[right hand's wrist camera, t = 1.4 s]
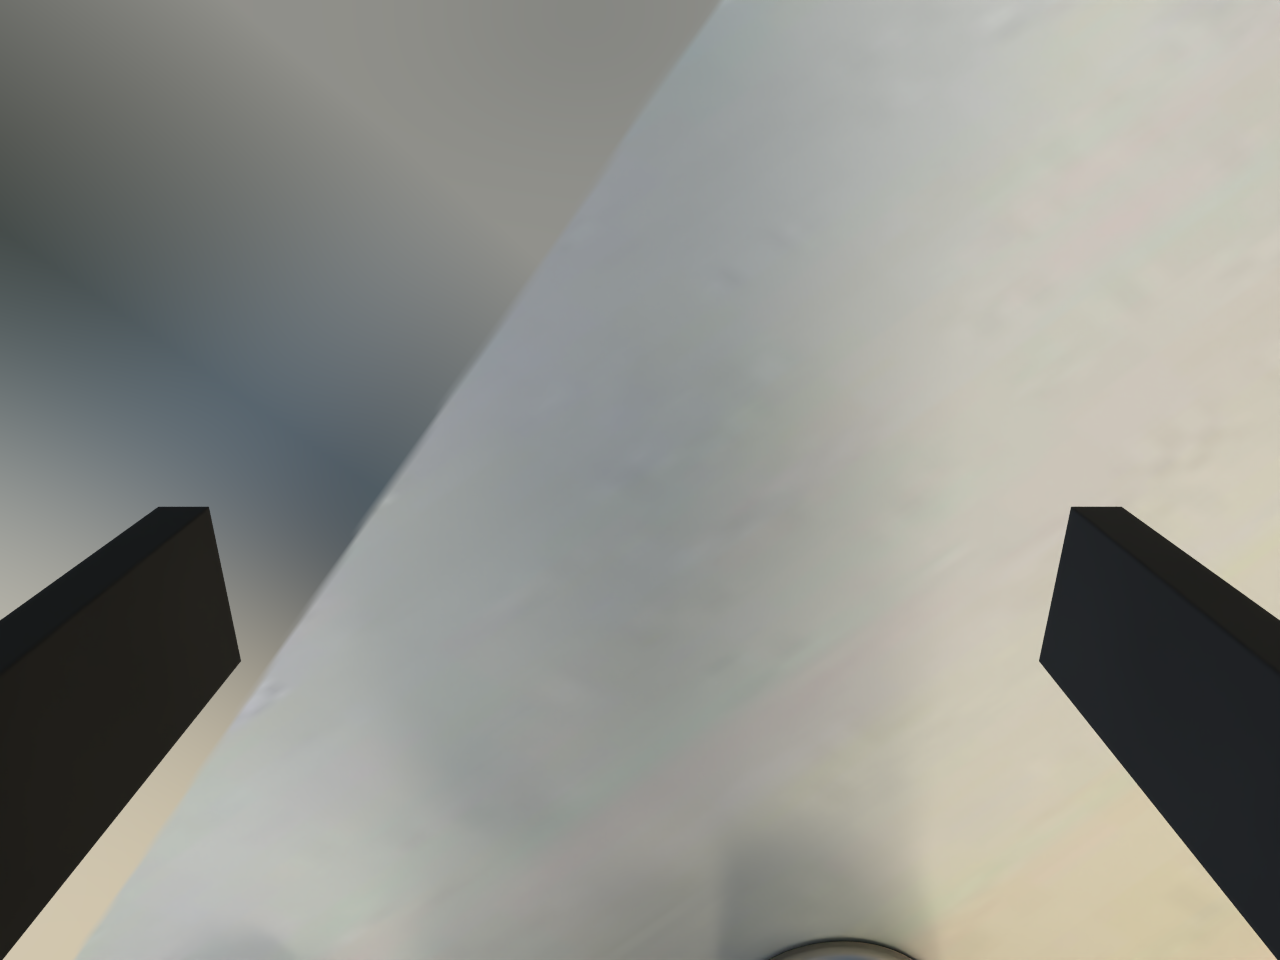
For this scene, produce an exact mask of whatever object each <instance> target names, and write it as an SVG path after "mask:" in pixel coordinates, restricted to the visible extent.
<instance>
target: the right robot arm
mask: <svg viewBox="0 0 1280 960" xmlns="http://www.w3.org/2000/svg"><path fill="white" fill-rule="evenodd" d="M240 662H241V659H240V654H239V650H238V645H237V640H236V635H235V630H234V626H233V621H232V616H231V611H230V606H229V602H228V597H227V592H226V587H225V582H224V578H223V573H222V568H221V563H220V558H219V553H218V549H217V544H216V539H215V534H214V530H213V525H212V520H211V515H210V510H209V507H158V508H156V509H155V510H153V511H152V512H151V513H149V514H148V515H146V516H145V517H144V518H142V519H141V520H140V521H138V522H137V523H135V524H134V525H133V526H131V527H130V528H128V529H127V530H126V531H124V532H123V533H121V534H120V535H119V536H117V537H116V538H114V539H113V540H112V541H110V542H109V543H108V544H106V545H105V546H103V547H102V548H101V549H99V550H98V551H96V552H95V553H94V554H92V555H91V556H89V557H88V558H87V559H85V560H84V561H82V562H81V563H80V564H78V565H77V566H75V567H74V568H73V569H71V570H70V571H68V572H67V573H66V574H64V575H63V576H62V577H60V578H59V579H57V580H56V581H55V582H53V583H52V584H50V585H49V586H48V587H46V588H45V589H43V590H42V591H41V592H39V593H38V594H36V595H35V596H34V597H32V598H31V599H29V600H28V601H27V602H25V603H24V604H22V605H21V606H20V607H18V608H17V609H15V610H14V611H13V612H11V613H10V614H9V615H7V616H6V617H4V618H3V619H2V620H0V960H3V958H4V957H5V956H6V955H7V953H8V952H9V951H10V950H11V948H12V947H13V946H14V945H15V943H16V942H17V941H18V940H19V938H20V937H21V936H22V935H23V933H24V932H25V931H26V930H27V928H28V927H29V926H30V925H31V923H32V922H33V921H34V920H35V918H36V917H37V916H38V915H39V913H40V912H41V911H42V910H43V908H44V907H45V906H46V905H47V903H48V902H49V901H50V900H51V898H52V897H53V896H54V895H55V893H56V892H57V891H58V890H59V888H60V887H61V886H62V885H63V883H64V882H65V881H66V880H67V878H68V877H69V876H70V875H71V873H72V872H73V871H74V869H75V868H76V867H77V866H78V865H79V863H80V862H81V861H82V859H83V858H84V857H85V856H86V854H87V853H88V852H89V851H90V849H91V848H92V847H93V846H94V844H95V843H96V842H97V841H98V839H99V838H100V837H101V836H102V834H103V833H104V832H105V831H106V829H107V828H108V827H109V826H110V824H111V823H112V822H113V821H114V819H115V818H116V817H117V816H118V814H119V813H120V812H121V811H122V809H123V808H124V807H125V806H126V804H127V803H128V802H129V801H130V799H131V798H132V797H133V796H134V794H135V793H136V792H137V791H138V789H139V788H140V787H141V786H142V784H143V783H144V782H145V781H146V779H147V778H148V777H149V776H150V774H151V773H152V772H153V770H154V769H155V768H156V767H157V766H158V764H159V763H160V762H161V761H162V759H163V758H164V757H165V755H166V754H167V753H168V752H169V751H170V749H171V748H172V747H173V746H174V744H175V743H176V742H177V741H178V739H179V738H180V737H181V735H182V734H183V733H184V732H185V730H186V729H187V728H188V727H189V725H190V724H191V723H192V722H193V720H194V719H195V718H196V717H197V715H198V714H199V713H200V712H201V710H202V709H203V708H204V707H205V705H206V704H207V703H208V702H209V700H210V699H211V698H212V697H213V695H214V694H215V693H216V692H217V690H218V689H219V688H220V687H221V685H222V684H223V683H224V682H225V680H226V679H227V678H228V677H229V675H230V674H231V673H232V672H233V670H234V669H235V668H236V667H237V665H238V664H239V663H240ZM1039 662H1040V663H1041V664H1042V665H1043V667H1044V668H1045V669H1046V670H1047V672H1048V673H1049V674H1050V675H1051V677H1052V678H1053V679H1054V680H1055V682H1056V683H1057V684H1058V685H1059V687H1060V688H1061V689H1062V690H1063V692H1064V693H1065V694H1066V695H1067V697H1068V698H1069V699H1070V700H1071V702H1072V703H1073V704H1074V705H1075V707H1076V708H1077V709H1078V710H1079V712H1080V713H1081V714H1082V715H1083V717H1084V718H1085V719H1086V720H1087V722H1088V723H1089V724H1090V725H1091V727H1092V728H1093V729H1094V730H1095V732H1096V733H1097V734H1098V735H1099V737H1100V738H1101V739H1102V741H1103V742H1104V743H1105V744H1106V746H1107V747H1108V748H1109V749H1110V751H1111V752H1112V753H1113V754H1114V756H1115V757H1116V758H1117V759H1118V761H1119V762H1120V763H1121V764H1122V766H1123V767H1124V768H1125V769H1126V771H1127V772H1128V773H1129V774H1130V776H1131V777H1132V778H1133V779H1134V781H1135V782H1136V783H1137V784H1138V786H1139V787H1140V788H1141V789H1142V791H1143V792H1144V793H1145V794H1146V796H1147V797H1148V798H1149V799H1150V801H1151V802H1152V803H1153V804H1154V806H1155V807H1156V808H1157V809H1158V811H1159V812H1160V813H1161V814H1162V816H1163V817H1164V818H1165V819H1166V821H1167V822H1168V823H1169V824H1170V826H1171V827H1172V828H1173V829H1174V831H1175V832H1176V833H1177V834H1178V836H1179V837H1180V838H1181V839H1182V841H1183V842H1184V843H1185V844H1186V846H1187V847H1188V848H1189V849H1190V851H1191V852H1192V853H1193V854H1194V856H1195V857H1196V858H1197V860H1198V861H1199V862H1200V863H1201V865H1202V866H1203V867H1204V868H1205V870H1206V871H1207V872H1208V873H1209V875H1210V876H1211V877H1212V878H1213V880H1214V881H1215V882H1216V883H1217V885H1218V886H1219V887H1220V888H1221V890H1222V891H1223V892H1224V893H1225V895H1226V896H1227V897H1228V898H1229V900H1230V901H1231V902H1232V903H1233V905H1234V906H1235V907H1236V908H1237V910H1238V911H1239V912H1240V913H1241V915H1242V916H1243V917H1244V918H1245V920H1246V921H1247V922H1248V923H1249V925H1250V926H1251V927H1252V928H1253V930H1254V931H1255V932H1256V933H1257V935H1258V936H1259V937H1260V938H1261V940H1262V941H1263V942H1264V943H1265V945H1266V946H1267V947H1268V948H1269V950H1270V951H1271V952H1272V953H1273V955H1274V956H1275V957H1276V958H1277V960H1280V620H1278V619H1277V618H1276V617H1274V616H1273V615H1271V614H1270V613H1269V612H1267V611H1266V610H1265V609H1263V608H1262V607H1260V606H1259V605H1258V604H1256V603H1255V602H1253V601H1252V600H1251V599H1249V598H1248V597H1246V596H1245V595H1244V594H1242V593H1241V592H1239V591H1238V590H1237V589H1235V588H1234V587H1232V586H1231V585H1230V584H1228V583H1227V582H1226V581H1224V580H1223V579H1221V578H1220V577H1219V576H1217V575H1216V574H1214V573H1213V572H1212V571H1210V570H1209V569H1207V568H1206V567H1205V566H1203V565H1202V564H1200V563H1199V562H1198V561H1196V560H1195V559H1193V558H1192V557H1191V556H1189V555H1188V554H1186V553H1185V552H1184V551H1182V550H1181V549H1180V548H1178V547H1177V546H1175V545H1174V544H1173V543H1171V542H1170V541H1168V540H1167V539H1166V538H1164V537H1163V536H1161V535H1160V534H1159V533H1157V532H1156V531H1154V530H1153V529H1152V528H1150V527H1149V526H1147V525H1146V524H1145V523H1143V522H1142V521H1141V520H1139V519H1138V518H1136V517H1135V516H1134V515H1132V514H1131V513H1129V512H1128V511H1127V510H1125V509H1124V508H1122V507H1071V510H1070V515H1069V520H1068V525H1067V529H1066V534H1065V539H1064V544H1063V549H1062V553H1061V558H1060V563H1059V568H1058V573H1057V577H1056V582H1055V587H1054V592H1053V597H1052V601H1051V606H1050V611H1049V616H1048V621H1047V625H1046V630H1045V635H1044V640H1043V645H1042V649H1041V654H1040V659H1039ZM769 960H912V959H910V958H909V957H907V956H905V955H903V954H901V953H899V952H897V951H894V950H891V949H889V948H886V947H882V946H878V945H874V944H868V943H861V942H847V941H839V942H825V943H817V944H812V945H807V946H803V947H799V948H796V949H793V950H790V951H787V952H784V953H782V954H780V955H777V956H775V957H773V958H771V959H769Z"/></svg>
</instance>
